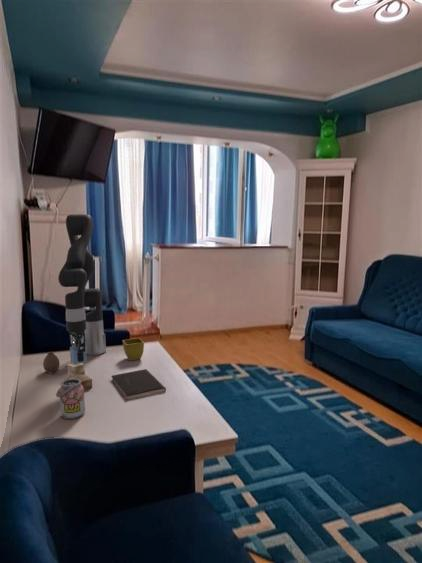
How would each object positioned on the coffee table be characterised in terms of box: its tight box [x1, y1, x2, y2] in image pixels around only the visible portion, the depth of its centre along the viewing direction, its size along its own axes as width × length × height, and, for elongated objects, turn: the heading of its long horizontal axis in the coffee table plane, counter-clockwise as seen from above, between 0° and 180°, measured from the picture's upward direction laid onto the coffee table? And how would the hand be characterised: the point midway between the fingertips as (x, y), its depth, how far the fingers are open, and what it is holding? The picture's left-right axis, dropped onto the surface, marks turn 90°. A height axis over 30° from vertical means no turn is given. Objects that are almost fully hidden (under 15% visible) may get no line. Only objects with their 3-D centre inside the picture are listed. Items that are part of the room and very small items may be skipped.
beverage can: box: [55, 378, 86, 420], centre depth 147 cm, size 9×8×12 cm
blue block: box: [69, 346, 88, 365], centre depth 169 cm, size 5×5×6 cm
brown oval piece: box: [42, 351, 61, 374], centre depth 190 cm, size 7×7×9 cm
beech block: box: [67, 362, 86, 379], centre depth 182 cm, size 5×5×6 cm
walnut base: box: [67, 374, 93, 391], centre depth 171 cm, size 7×7×4 cm
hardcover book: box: [111, 368, 167, 400], centre depth 173 cm, size 16×23×2 cm
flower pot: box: [122, 337, 145, 361], centre depth 204 cm, size 9×9×9 cm
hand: (78, 359), depth 170 cm, fingers closed on blue block, 5 cm apart
